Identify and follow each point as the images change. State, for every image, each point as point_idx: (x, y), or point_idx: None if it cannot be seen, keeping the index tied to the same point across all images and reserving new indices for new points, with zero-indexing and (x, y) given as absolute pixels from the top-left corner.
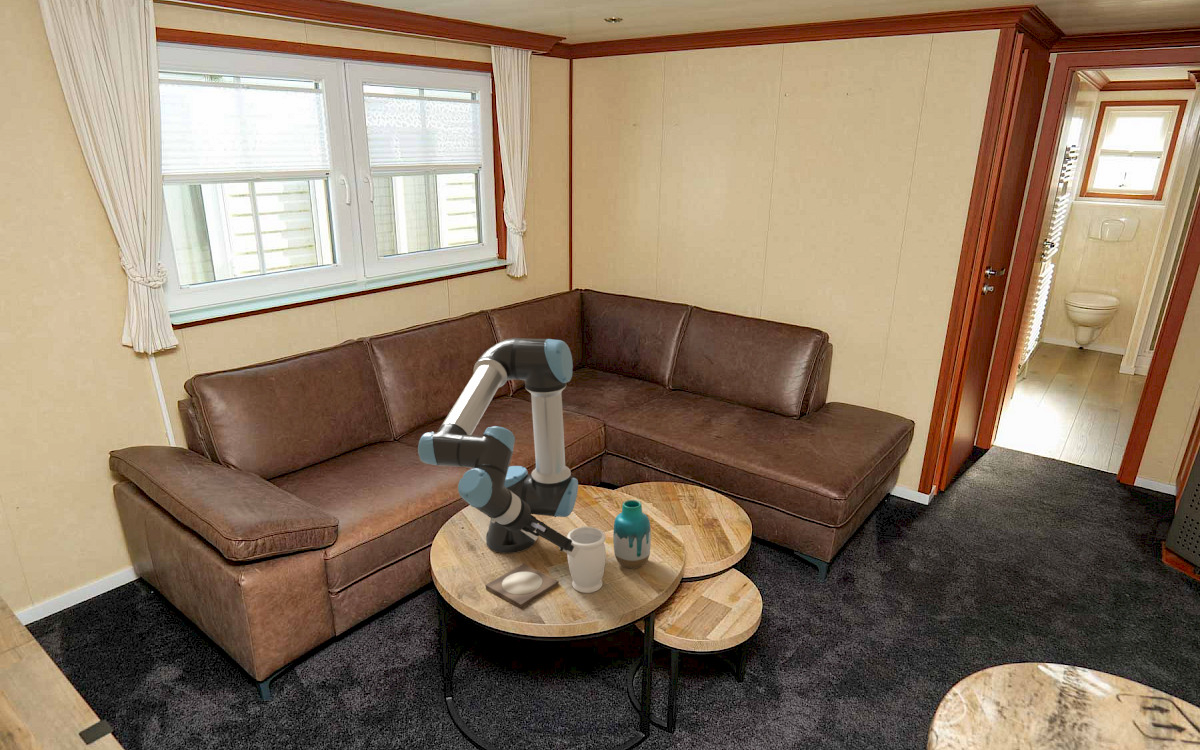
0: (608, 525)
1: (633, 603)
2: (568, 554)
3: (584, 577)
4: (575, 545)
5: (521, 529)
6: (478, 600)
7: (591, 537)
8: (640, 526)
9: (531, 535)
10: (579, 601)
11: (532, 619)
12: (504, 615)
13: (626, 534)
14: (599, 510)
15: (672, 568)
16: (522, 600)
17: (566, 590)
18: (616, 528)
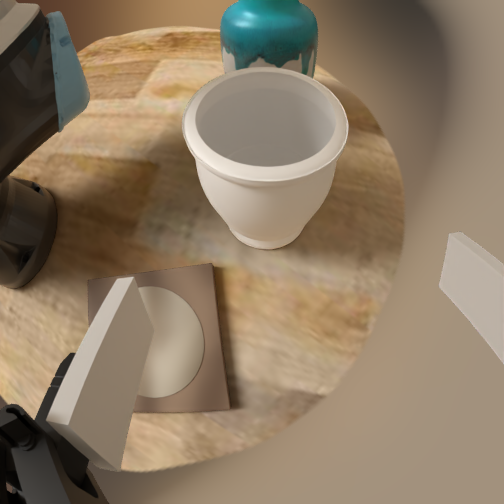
0: (135, 75)
1: (389, 188)
2: (464, 311)
3: (304, 224)
4: (487, 251)
5: (98, 464)
6: (131, 448)
7: (229, 104)
8: (314, 20)
9: (137, 371)
10: (311, 272)
11: (291, 411)
12: (226, 450)
13: (296, 50)
14: (96, 71)
15: (329, 77)
16: (217, 395)
17: (248, 267)
18: (258, 47)
